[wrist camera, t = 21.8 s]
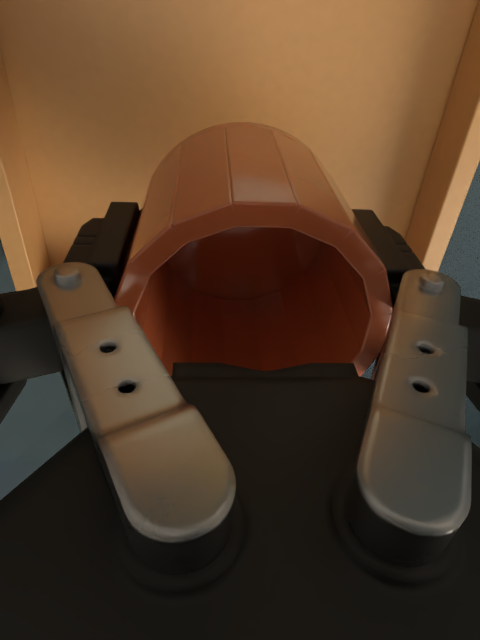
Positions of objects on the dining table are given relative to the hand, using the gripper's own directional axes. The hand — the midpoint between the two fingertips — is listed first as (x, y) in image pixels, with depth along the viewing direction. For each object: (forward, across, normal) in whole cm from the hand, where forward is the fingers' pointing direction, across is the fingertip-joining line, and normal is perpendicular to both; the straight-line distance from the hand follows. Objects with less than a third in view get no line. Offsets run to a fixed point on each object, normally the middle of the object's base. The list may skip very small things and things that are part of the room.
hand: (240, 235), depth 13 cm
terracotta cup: (+1, 0, 0) cm, 1 cm away
